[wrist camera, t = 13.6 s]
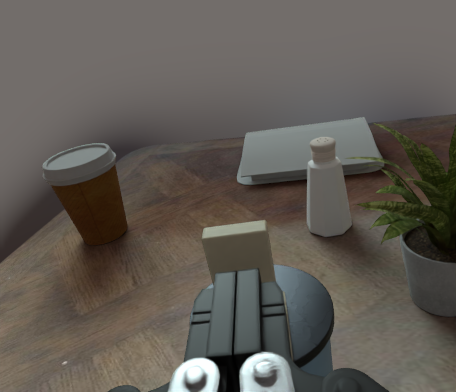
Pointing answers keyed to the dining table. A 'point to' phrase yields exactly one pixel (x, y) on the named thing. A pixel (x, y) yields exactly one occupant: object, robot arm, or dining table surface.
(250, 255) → the block
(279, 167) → the book
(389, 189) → the house plant
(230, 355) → the robot arm
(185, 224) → the dining table surface
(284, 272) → the disc
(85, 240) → the disposable coffee cup
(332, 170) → the salt shaker
